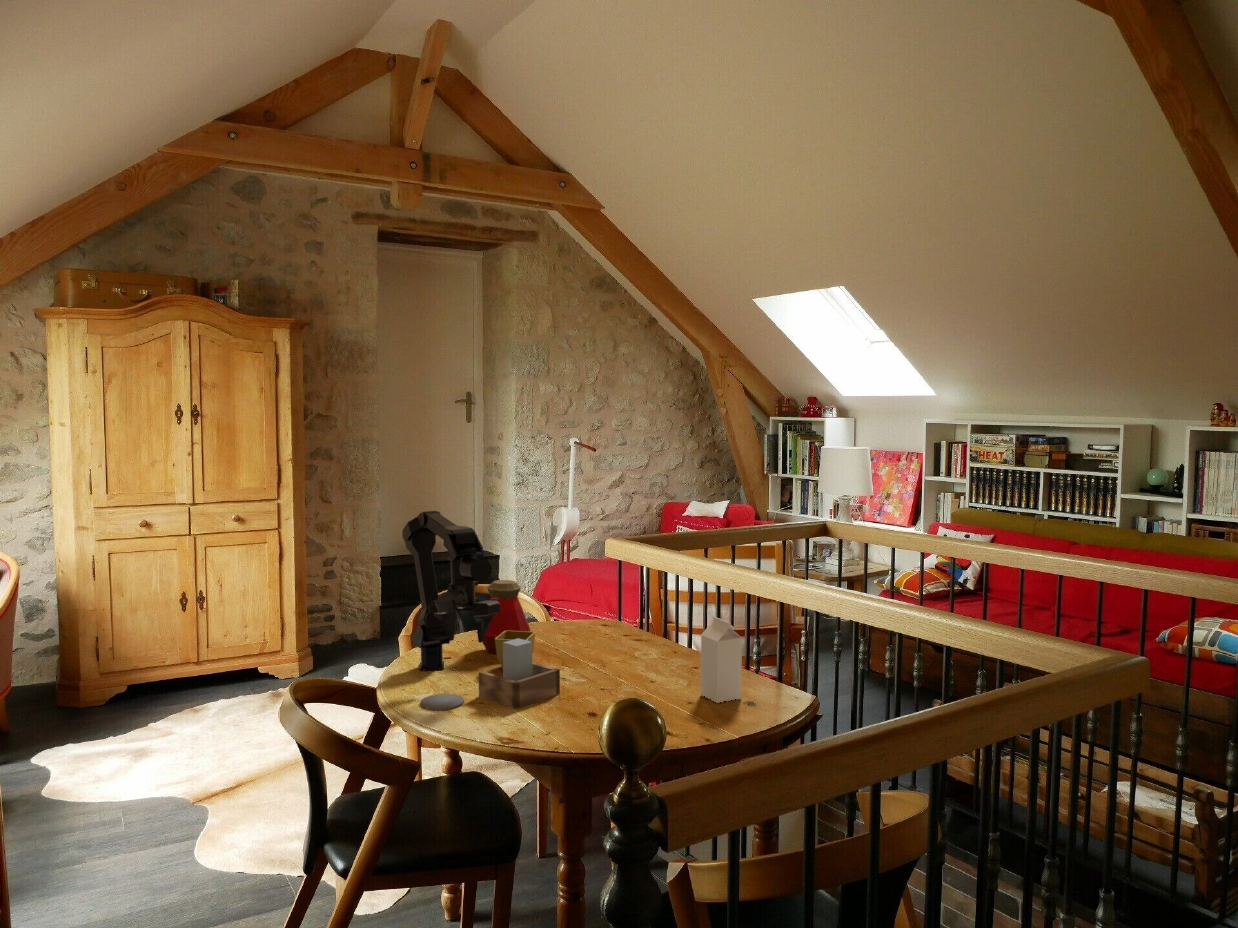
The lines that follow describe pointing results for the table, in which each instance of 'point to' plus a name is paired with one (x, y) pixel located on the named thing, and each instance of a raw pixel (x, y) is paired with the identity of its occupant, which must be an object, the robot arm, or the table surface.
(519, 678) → the block
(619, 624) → the table surface
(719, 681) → the milk carton
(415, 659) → the table surface
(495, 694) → the crate
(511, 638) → the flower pot
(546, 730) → the table surface
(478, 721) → the table surface
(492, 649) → the bottle
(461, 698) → the mat
